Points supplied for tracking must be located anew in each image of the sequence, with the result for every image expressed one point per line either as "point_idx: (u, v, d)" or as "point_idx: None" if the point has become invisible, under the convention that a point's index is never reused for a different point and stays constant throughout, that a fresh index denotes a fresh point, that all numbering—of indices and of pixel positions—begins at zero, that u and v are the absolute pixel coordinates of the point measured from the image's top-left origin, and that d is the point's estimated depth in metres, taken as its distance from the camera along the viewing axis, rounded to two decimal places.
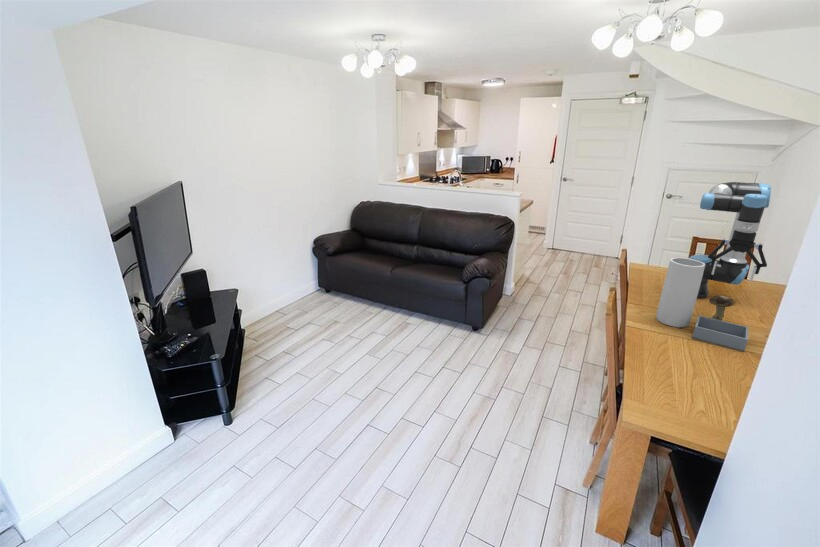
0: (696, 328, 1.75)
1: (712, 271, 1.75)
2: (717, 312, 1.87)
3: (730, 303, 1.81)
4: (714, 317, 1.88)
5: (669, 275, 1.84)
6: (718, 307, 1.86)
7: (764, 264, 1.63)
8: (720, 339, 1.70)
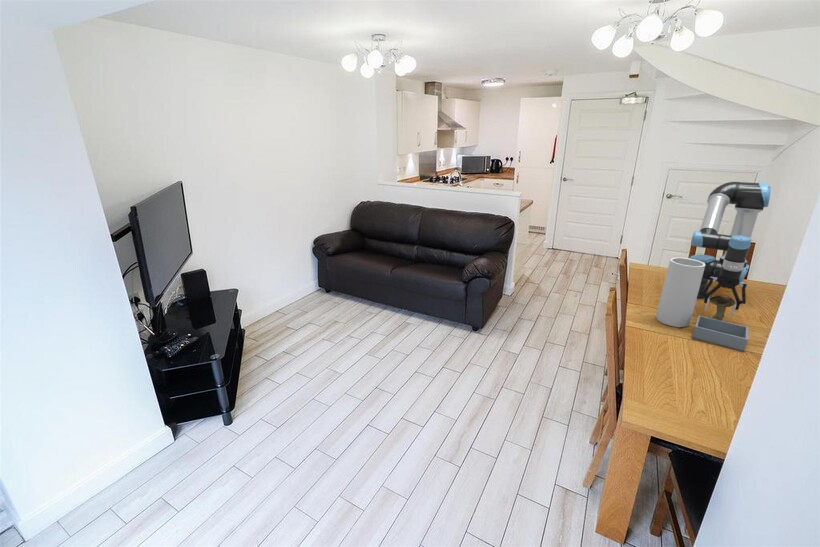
0: (696, 328, 1.75)
1: (705, 307, 1.89)
2: (717, 312, 1.87)
3: (731, 303, 1.81)
4: (714, 317, 1.88)
5: (669, 275, 1.84)
6: (719, 307, 1.86)
7: (743, 301, 1.79)
8: (720, 339, 1.70)
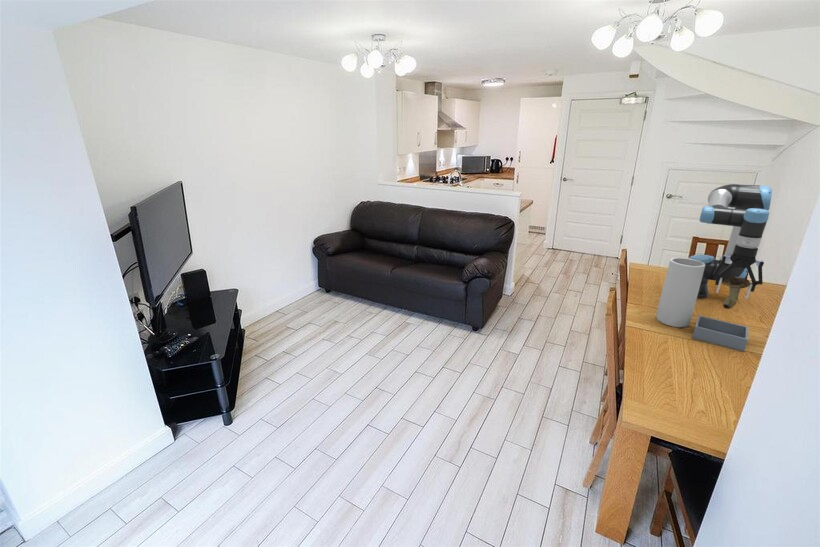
0: (696, 328, 1.75)
1: (717, 289, 1.71)
2: (731, 294, 1.68)
3: (746, 284, 1.63)
4: (727, 300, 1.70)
5: (669, 275, 1.84)
6: (732, 289, 1.68)
7: (760, 282, 1.61)
8: (720, 339, 1.70)
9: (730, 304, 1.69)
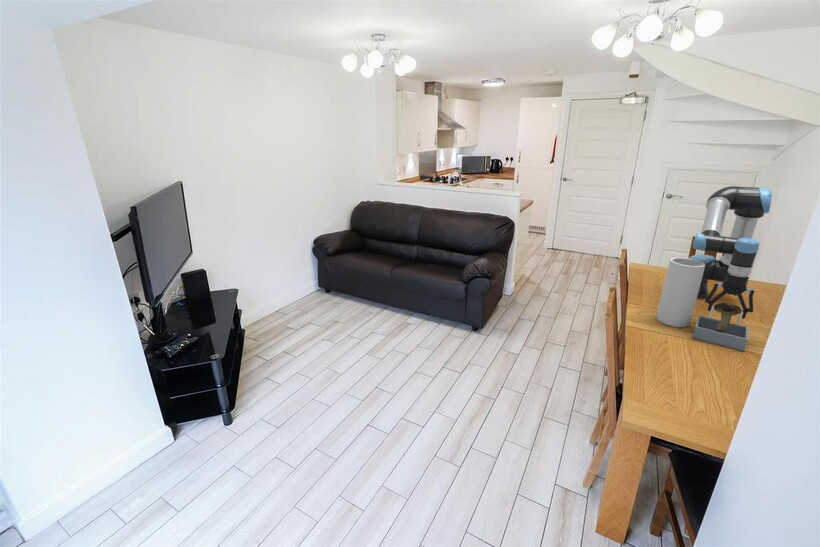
0: (696, 328, 1.75)
1: (709, 315, 1.75)
2: (722, 321, 1.73)
3: (737, 311, 1.67)
4: (719, 326, 1.74)
5: (669, 275, 1.84)
6: (724, 315, 1.72)
7: (751, 309, 1.65)
8: (720, 339, 1.70)
9: (722, 330, 1.73)
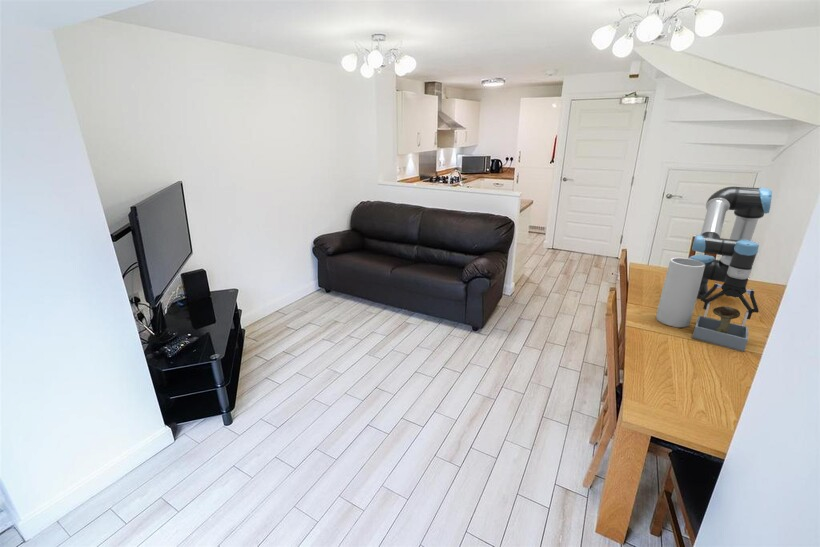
0: (696, 328, 1.75)
1: (705, 314, 1.76)
2: (722, 324, 1.74)
3: (736, 315, 1.68)
4: (718, 329, 1.75)
5: (669, 275, 1.84)
6: (723, 319, 1.73)
7: (756, 310, 1.64)
8: (720, 339, 1.70)
9: None
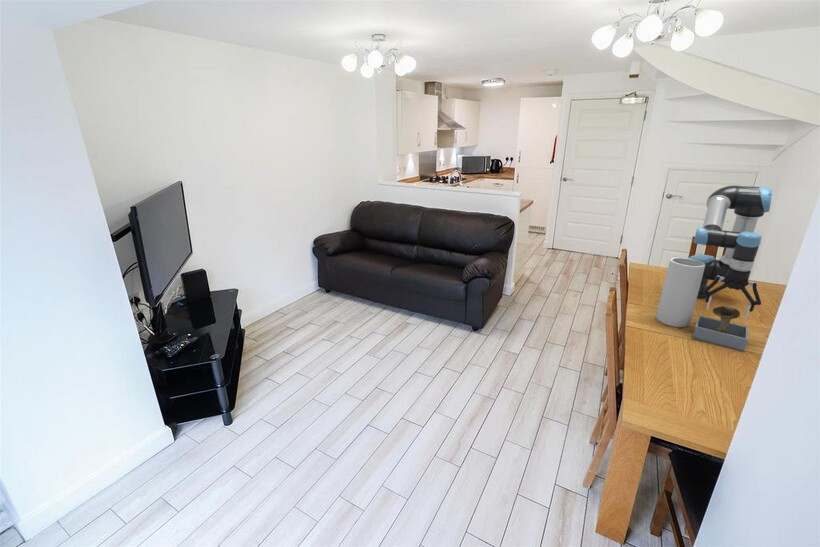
0: (696, 328, 1.75)
1: (707, 306, 1.75)
2: (722, 324, 1.74)
3: (736, 315, 1.68)
4: (718, 329, 1.75)
5: (669, 275, 1.84)
6: (723, 319, 1.73)
7: (758, 302, 1.63)
8: (720, 339, 1.70)
9: None
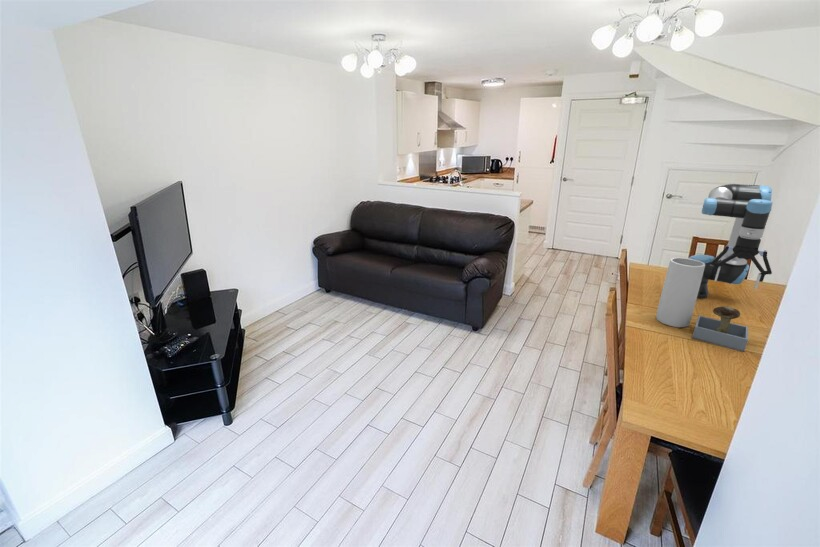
0: (696, 328, 1.75)
1: (715, 278, 1.70)
2: (722, 324, 1.73)
3: (736, 315, 1.68)
4: (718, 329, 1.75)
5: (669, 275, 1.84)
6: (723, 319, 1.73)
7: (769, 271, 1.58)
8: (720, 339, 1.70)
9: None
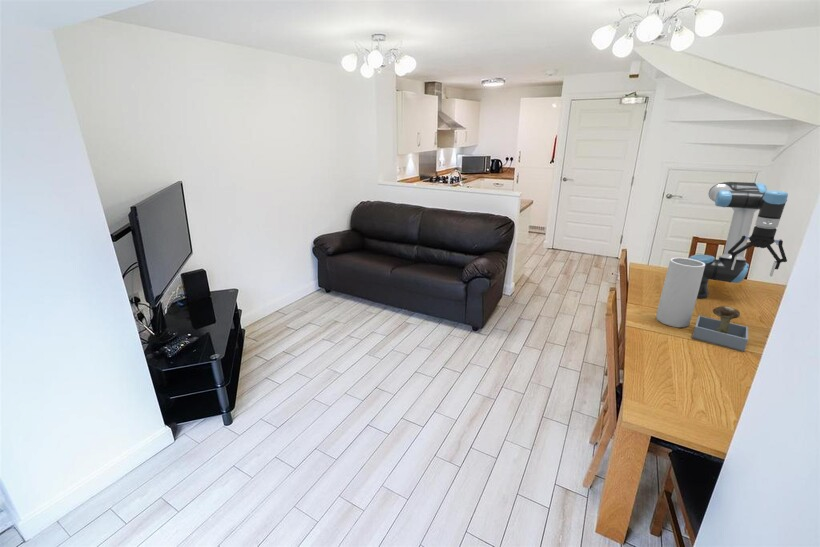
0: (696, 328, 1.75)
1: (732, 266, 1.79)
2: (722, 324, 1.74)
3: (736, 315, 1.68)
4: (718, 329, 1.75)
5: (669, 275, 1.84)
6: (723, 319, 1.73)
7: (784, 259, 1.67)
8: (720, 339, 1.70)
9: None
